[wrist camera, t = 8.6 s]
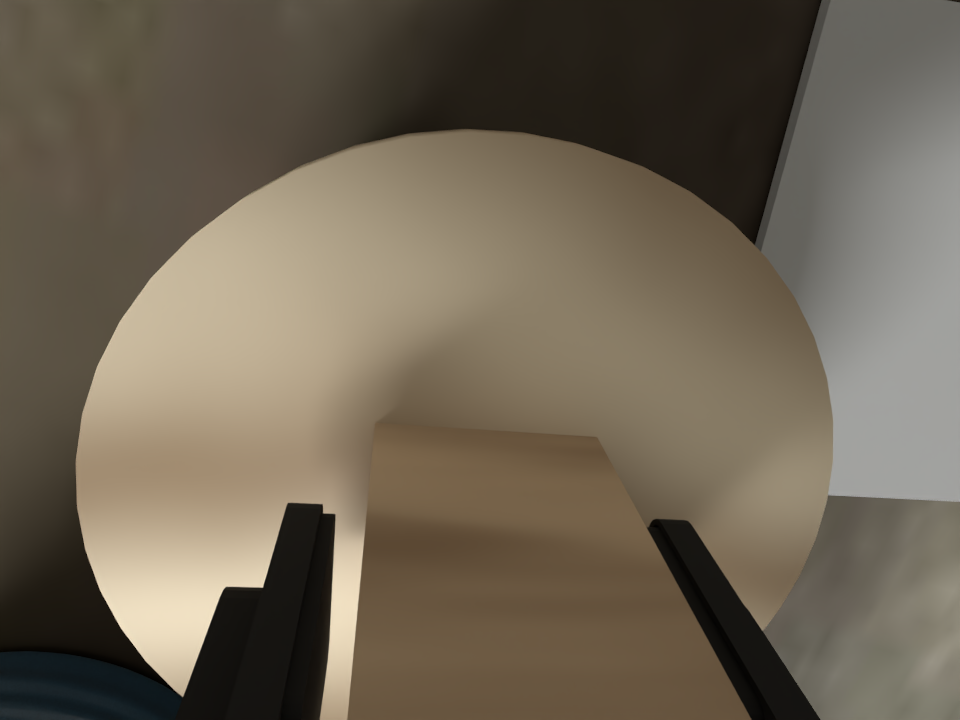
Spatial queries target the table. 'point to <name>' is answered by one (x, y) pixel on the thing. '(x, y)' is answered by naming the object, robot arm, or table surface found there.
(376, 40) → the table surface
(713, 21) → the table surface
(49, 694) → the canister
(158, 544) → the lid
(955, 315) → the mat
